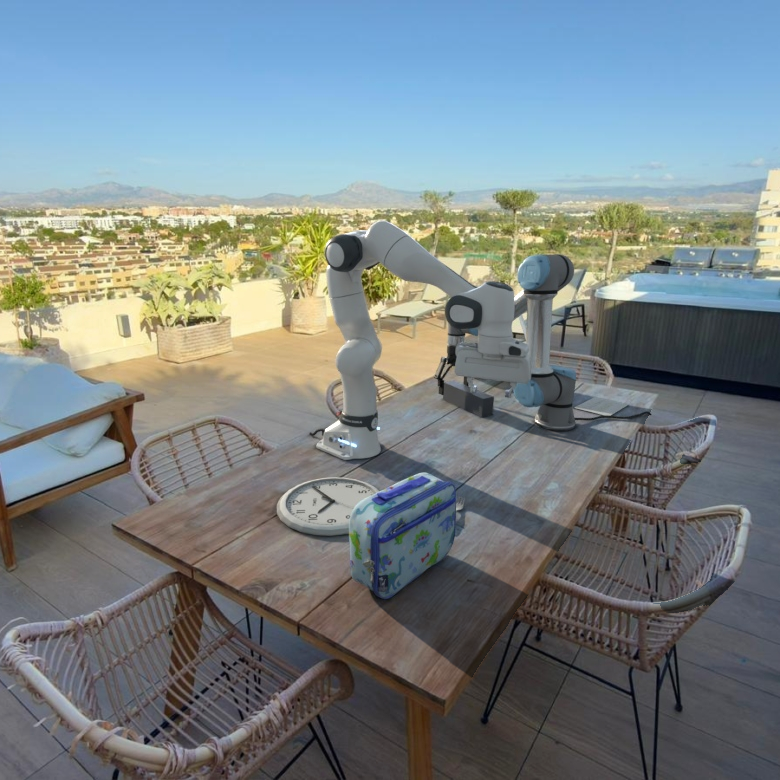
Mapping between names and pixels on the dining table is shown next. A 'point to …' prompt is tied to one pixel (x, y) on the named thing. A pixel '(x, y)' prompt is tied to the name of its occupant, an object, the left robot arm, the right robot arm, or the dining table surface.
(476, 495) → the dining table surface
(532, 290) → the right robot arm
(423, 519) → the lunch box
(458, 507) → the fork
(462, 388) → the bar
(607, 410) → the invitation card
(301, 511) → the wall clock
